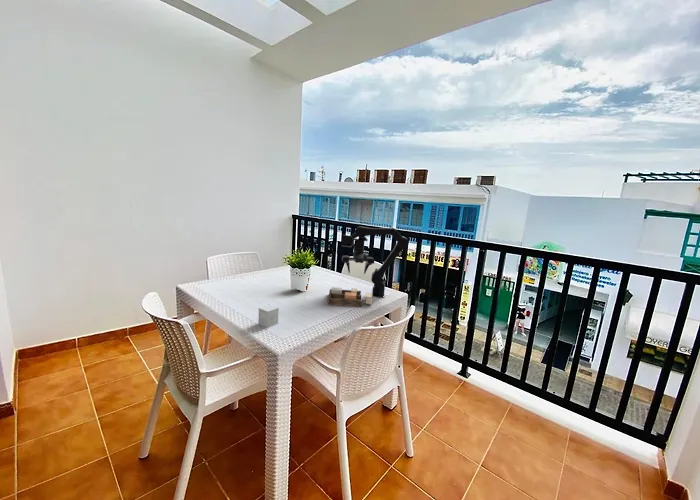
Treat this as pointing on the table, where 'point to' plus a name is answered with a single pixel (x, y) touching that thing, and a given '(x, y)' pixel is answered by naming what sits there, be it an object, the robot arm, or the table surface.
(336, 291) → the cream white block dumbbell
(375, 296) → the robot arm
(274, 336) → the table surface
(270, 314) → the product box
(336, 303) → the lane rack
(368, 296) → the cream orange dumbbell block
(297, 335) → the table surface
